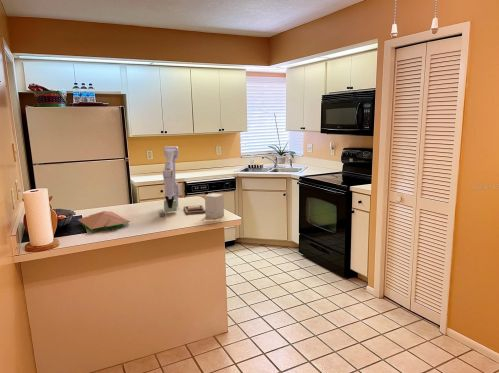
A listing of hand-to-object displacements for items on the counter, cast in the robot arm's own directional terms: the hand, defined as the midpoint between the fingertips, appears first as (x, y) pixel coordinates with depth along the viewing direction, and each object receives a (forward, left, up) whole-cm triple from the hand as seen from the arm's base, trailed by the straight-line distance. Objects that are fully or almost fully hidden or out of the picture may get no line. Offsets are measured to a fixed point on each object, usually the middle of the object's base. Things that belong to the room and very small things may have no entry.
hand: (170, 207), depth 249 cm
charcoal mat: (0, 0, -5) cm, 5 cm away
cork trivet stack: (-5, +16, -4) cm, 18 cm away
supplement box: (+16, +27, -5) cm, 32 cm away
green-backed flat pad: (+12, -41, -6) cm, 43 cm away
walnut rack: (-1, +16, -5) cm, 17 cm away
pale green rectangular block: (0, 0, -2) cm, 3 cm away
